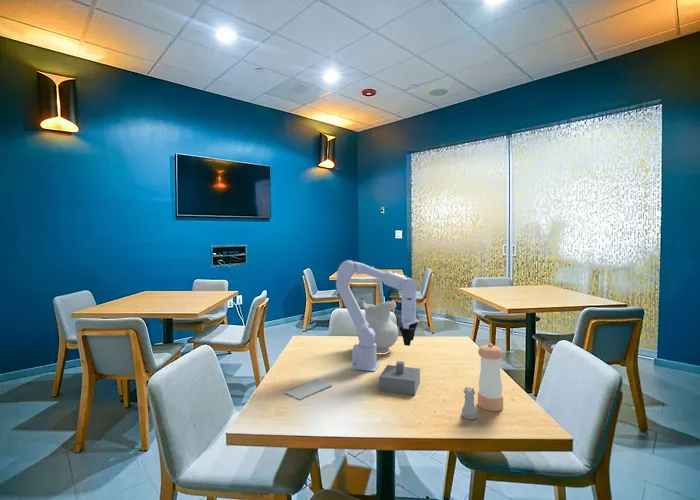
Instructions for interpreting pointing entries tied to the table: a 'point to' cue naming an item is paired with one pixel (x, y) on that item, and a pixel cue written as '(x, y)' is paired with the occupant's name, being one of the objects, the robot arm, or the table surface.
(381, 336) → the ceramic pitcher
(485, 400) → the pepper shaker
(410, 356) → the table surface
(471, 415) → the rook chess piece
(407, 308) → the robot arm
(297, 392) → the smartphone
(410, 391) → the gray square knob slab
